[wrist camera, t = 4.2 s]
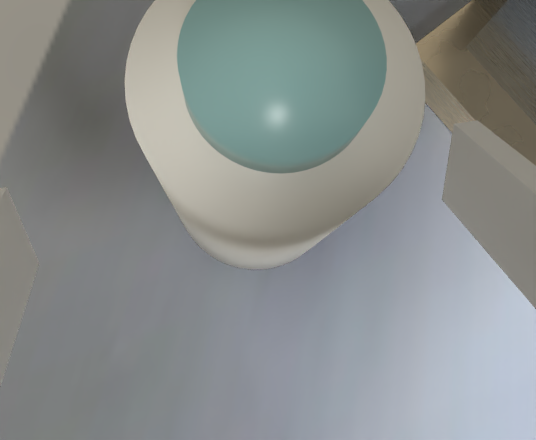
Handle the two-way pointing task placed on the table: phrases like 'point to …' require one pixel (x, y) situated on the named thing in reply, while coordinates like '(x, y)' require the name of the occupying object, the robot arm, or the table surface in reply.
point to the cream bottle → (273, 116)
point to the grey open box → (485, 70)
